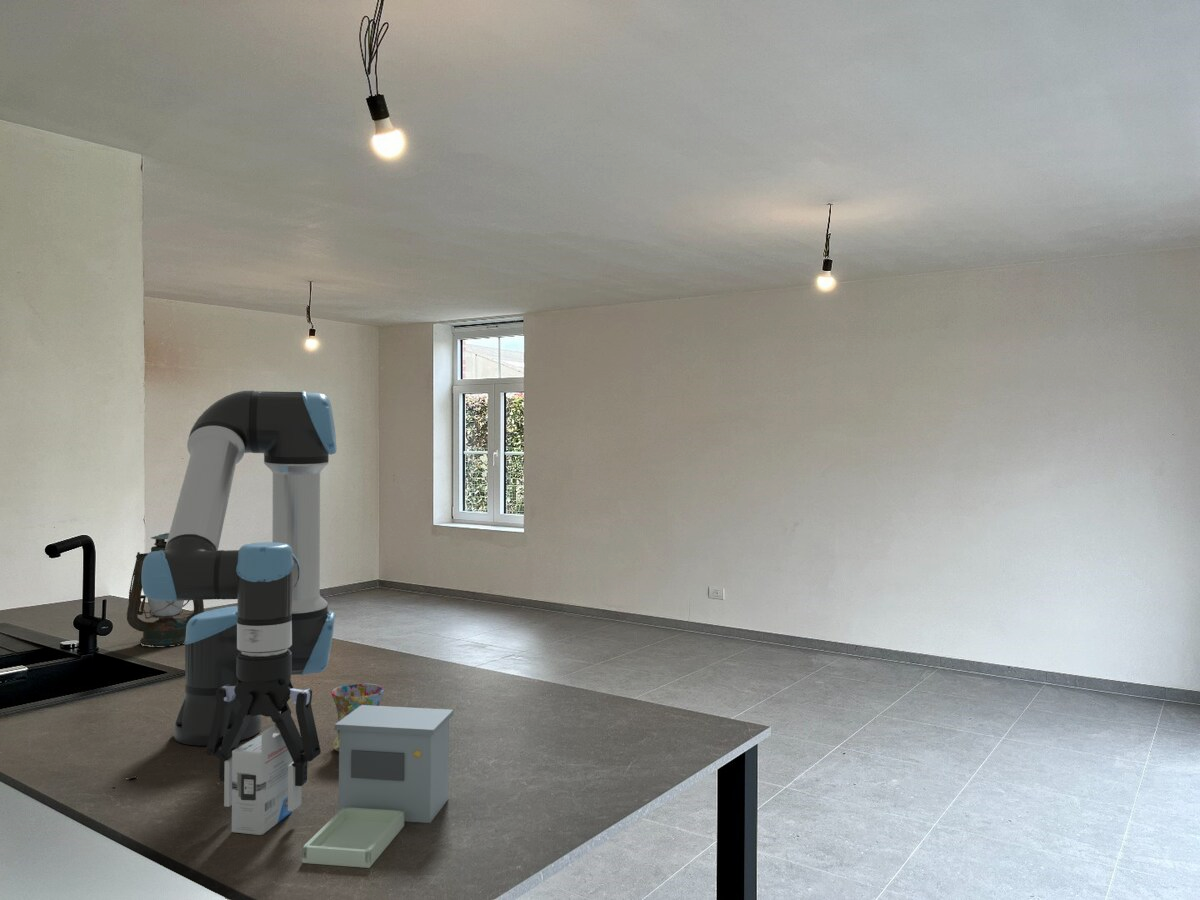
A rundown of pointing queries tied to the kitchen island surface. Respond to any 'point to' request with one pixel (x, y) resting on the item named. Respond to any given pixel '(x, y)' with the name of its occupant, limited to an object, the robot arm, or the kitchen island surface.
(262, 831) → the ink box
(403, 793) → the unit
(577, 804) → the kitchen island surface
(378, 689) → the mug
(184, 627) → the lantern
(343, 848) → the tray
